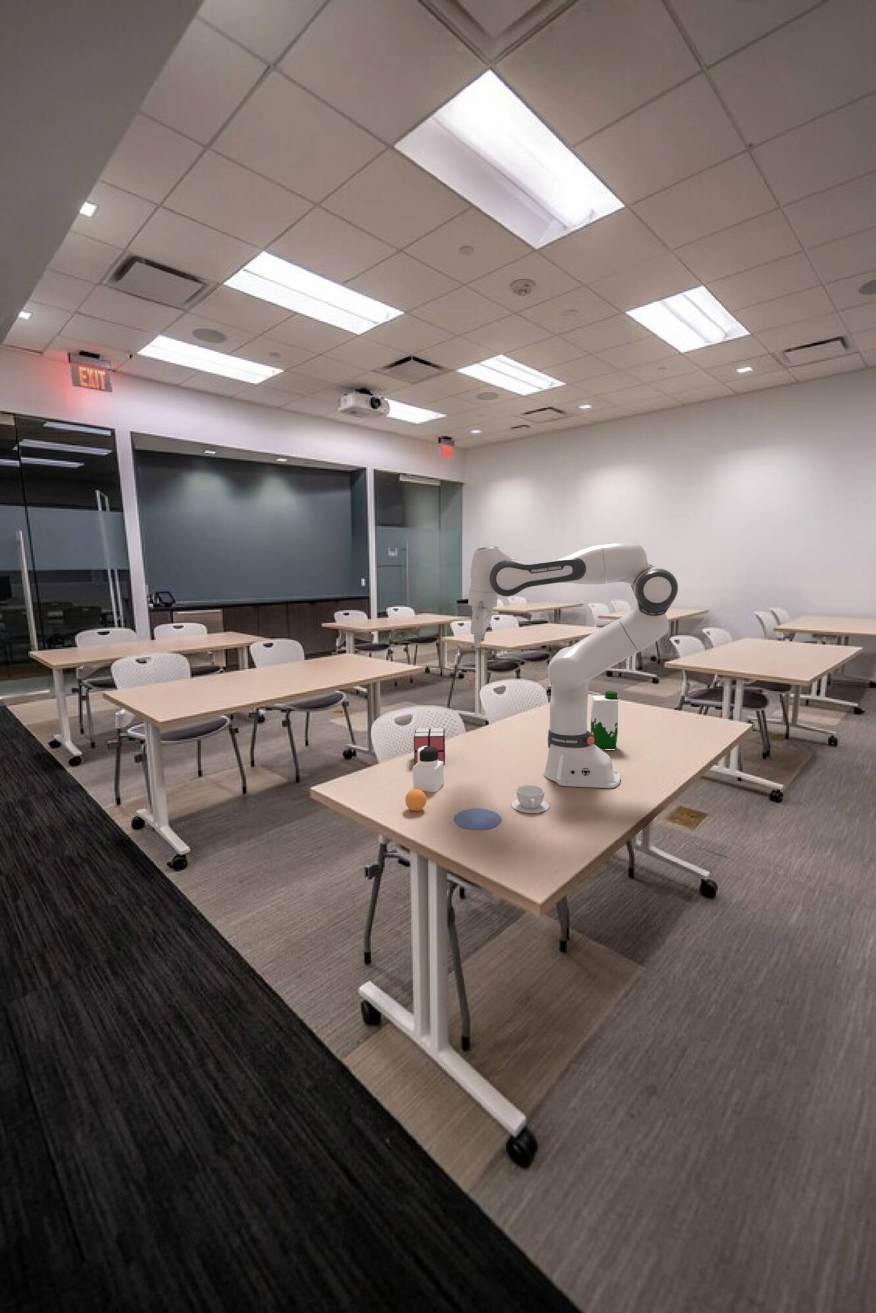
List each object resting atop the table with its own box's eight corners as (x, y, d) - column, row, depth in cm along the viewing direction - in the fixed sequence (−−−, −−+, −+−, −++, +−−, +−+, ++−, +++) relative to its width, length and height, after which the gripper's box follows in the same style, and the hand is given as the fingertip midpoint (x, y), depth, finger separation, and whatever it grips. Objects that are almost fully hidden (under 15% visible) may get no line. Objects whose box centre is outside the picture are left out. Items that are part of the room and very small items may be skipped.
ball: (430, 807, 146) (429, 787, 145) (421, 815, 141) (421, 795, 140) (410, 804, 148) (410, 784, 147) (402, 812, 143) (401, 792, 142)
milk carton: (618, 751, 188) (619, 695, 186) (591, 750, 190) (592, 694, 187) (615, 744, 197) (616, 689, 194) (589, 743, 199) (590, 689, 196)
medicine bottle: (444, 783, 162) (443, 745, 161) (436, 792, 156) (435, 752, 154) (421, 781, 165) (420, 743, 163) (412, 790, 158) (411, 750, 156)
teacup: (509, 799, 151) (509, 783, 150) (545, 799, 150) (546, 782, 150) (513, 815, 141) (513, 797, 140) (552, 814, 140) (552, 797, 140)
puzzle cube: (444, 765, 179) (444, 736, 177) (414, 766, 179) (413, 736, 177) (445, 755, 188) (444, 727, 187) (416, 756, 189) (415, 728, 187)
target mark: (506, 812, 142) (506, 811, 142) (494, 832, 131) (494, 832, 130) (462, 806, 146) (462, 805, 146) (447, 825, 135) (447, 824, 135)
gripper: (489, 605, 156) (485, 652, 159) (496, 597, 176) (492, 639, 179) (467, 603, 157) (463, 649, 160) (477, 595, 177) (473, 637, 180)
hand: (479, 644), depth 170 cm, fingers open, 8 cm apart
